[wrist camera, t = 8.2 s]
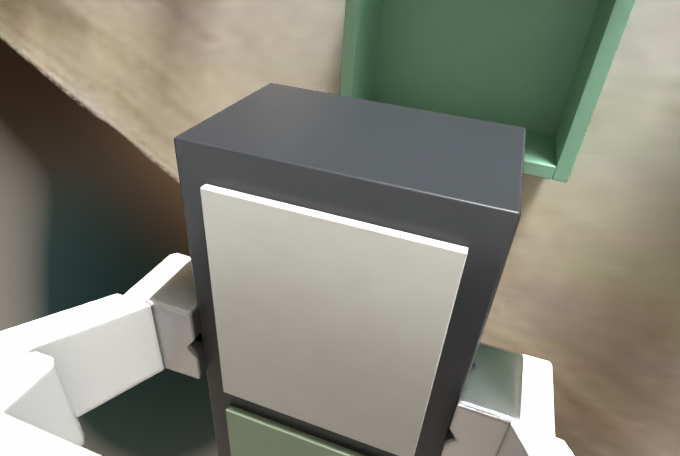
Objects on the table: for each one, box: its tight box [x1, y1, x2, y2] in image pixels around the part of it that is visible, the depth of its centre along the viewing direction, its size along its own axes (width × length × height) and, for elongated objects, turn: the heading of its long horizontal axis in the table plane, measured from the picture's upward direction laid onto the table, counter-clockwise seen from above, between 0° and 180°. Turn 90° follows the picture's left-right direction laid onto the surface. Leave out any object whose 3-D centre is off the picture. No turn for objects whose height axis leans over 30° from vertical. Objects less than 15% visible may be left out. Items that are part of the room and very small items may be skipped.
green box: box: [340, 0, 635, 182], centre depth 26 cm, size 13×14×6 cm
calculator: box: [174, 83, 526, 456], centre depth 10 cm, size 8×5×3 cm, turn 177°
